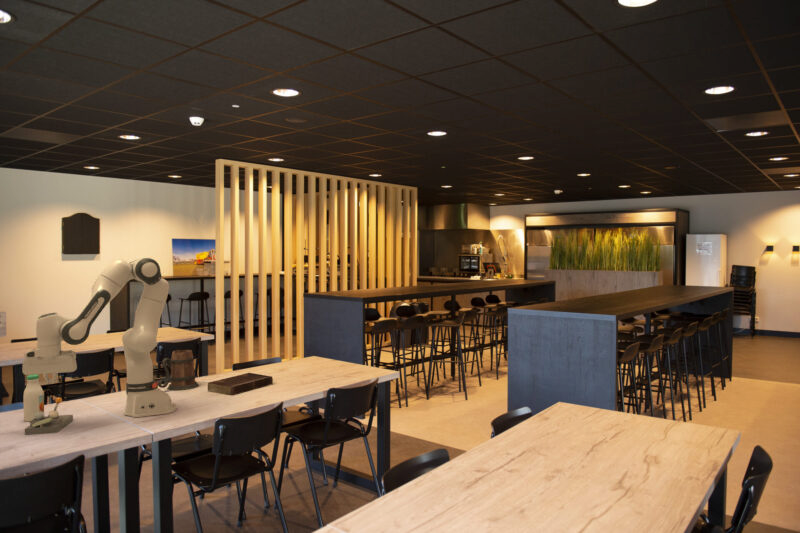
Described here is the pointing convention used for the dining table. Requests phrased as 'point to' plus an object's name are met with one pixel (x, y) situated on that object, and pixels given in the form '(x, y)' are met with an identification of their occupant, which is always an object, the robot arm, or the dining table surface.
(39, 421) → the rocker sage
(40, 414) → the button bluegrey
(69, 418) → the panel
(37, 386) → the milk bottle
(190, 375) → the tankard
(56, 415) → the button cream
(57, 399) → the toggle lever
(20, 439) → the dining table surface
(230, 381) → the dark brown flat block
